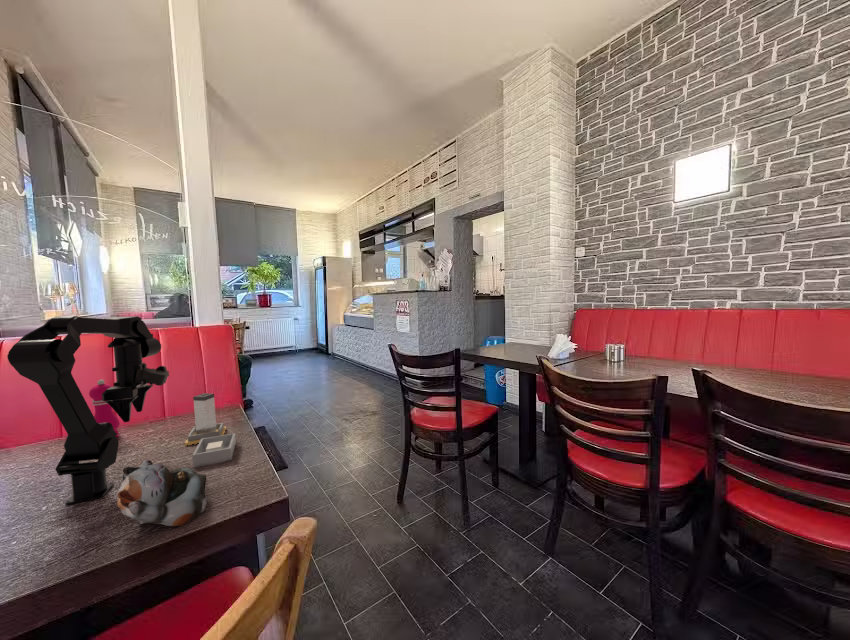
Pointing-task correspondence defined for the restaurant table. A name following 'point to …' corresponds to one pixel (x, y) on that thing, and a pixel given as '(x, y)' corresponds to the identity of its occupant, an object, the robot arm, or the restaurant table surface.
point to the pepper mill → (103, 406)
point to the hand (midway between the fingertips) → (133, 416)
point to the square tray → (204, 434)
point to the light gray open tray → (214, 450)
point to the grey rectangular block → (204, 413)
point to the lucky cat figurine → (161, 494)
